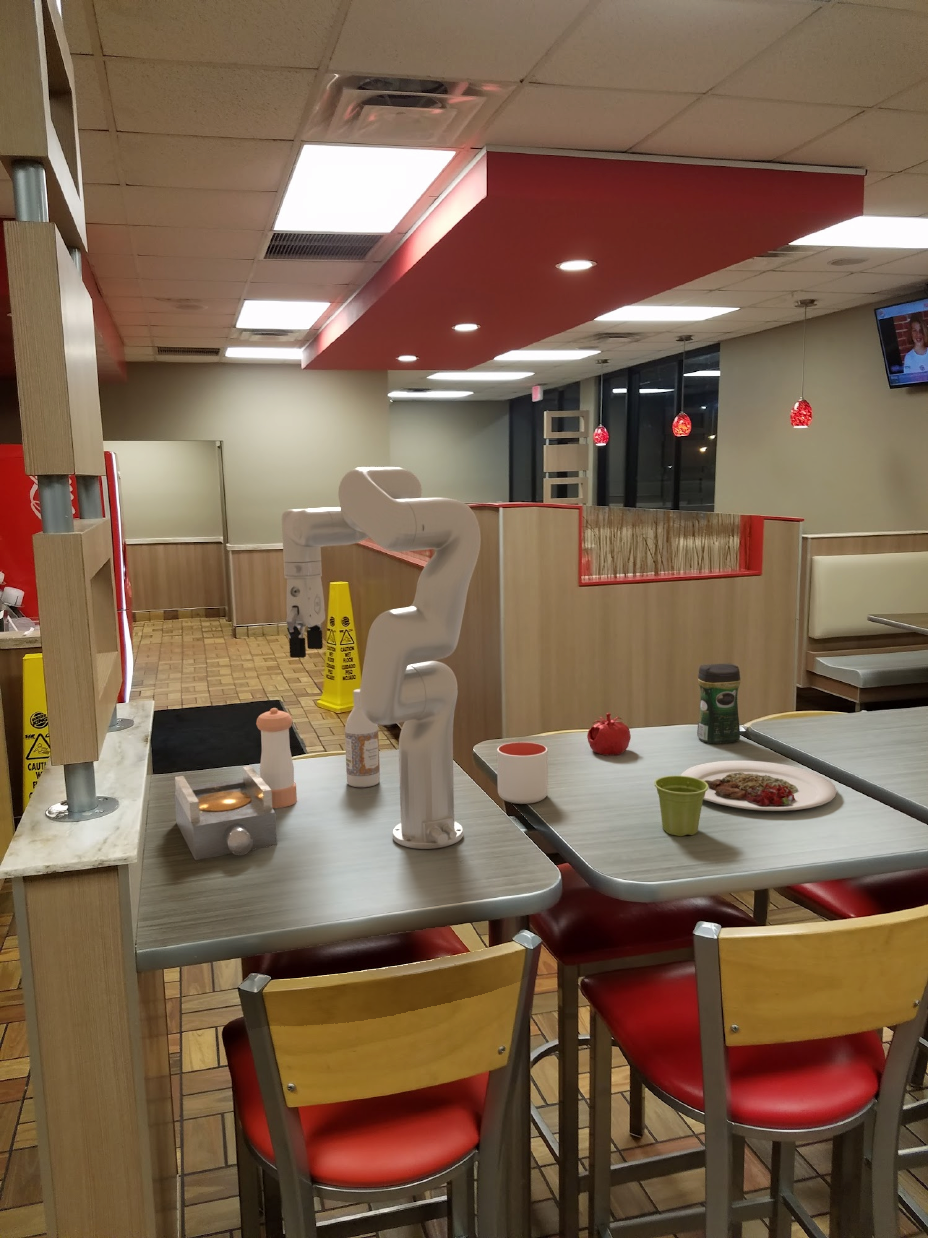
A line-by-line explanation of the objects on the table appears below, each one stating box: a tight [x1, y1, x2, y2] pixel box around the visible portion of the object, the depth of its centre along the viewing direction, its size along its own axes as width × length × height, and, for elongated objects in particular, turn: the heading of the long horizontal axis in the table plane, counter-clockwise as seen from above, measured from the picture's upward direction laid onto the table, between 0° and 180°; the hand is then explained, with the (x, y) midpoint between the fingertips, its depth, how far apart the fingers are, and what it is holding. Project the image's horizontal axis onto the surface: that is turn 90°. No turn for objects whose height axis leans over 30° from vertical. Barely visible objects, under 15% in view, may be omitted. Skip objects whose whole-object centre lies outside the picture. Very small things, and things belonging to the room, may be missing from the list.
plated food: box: [679, 760, 837, 812], centre depth 186 cm, size 30×30×3 cm
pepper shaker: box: [255, 707, 298, 809], centre depth 184 cm, size 7×7×19 cm
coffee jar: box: [696, 662, 741, 744], centre depth 221 cm, size 10×8×19 cm
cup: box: [496, 741, 549, 805], centre depth 184 cm, size 10×10×10 cm
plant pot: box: [653, 775, 708, 837], centre depth 165 cm, size 9×9×9 cm
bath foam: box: [344, 688, 381, 788], centre depth 194 cm, size 7×7×20 cm
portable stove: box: [174, 765, 278, 861], centre depth 166 cm, size 24×14×10 cm, turn 26°
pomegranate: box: [586, 712, 632, 756], centre depth 215 cm, size 10×10×9 cm
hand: (306, 653), depth 191 cm, fingers open, 9 cm apart
